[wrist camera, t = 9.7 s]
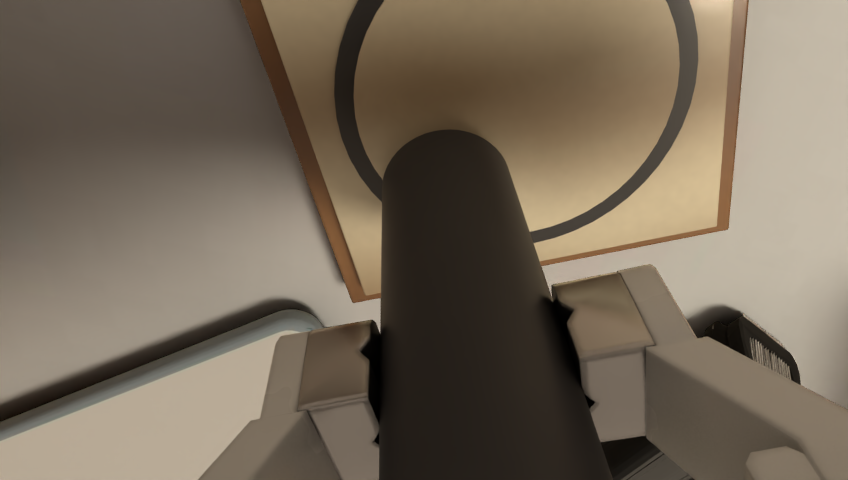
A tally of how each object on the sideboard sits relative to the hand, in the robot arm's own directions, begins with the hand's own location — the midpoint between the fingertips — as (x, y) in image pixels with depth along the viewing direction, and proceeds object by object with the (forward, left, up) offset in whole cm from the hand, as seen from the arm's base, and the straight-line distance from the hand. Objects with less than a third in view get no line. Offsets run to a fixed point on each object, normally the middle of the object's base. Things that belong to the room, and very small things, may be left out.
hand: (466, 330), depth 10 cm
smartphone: (+9, -11, -6) cm, 16 cm away
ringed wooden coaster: (-1, +2, -6) cm, 7 cm away
